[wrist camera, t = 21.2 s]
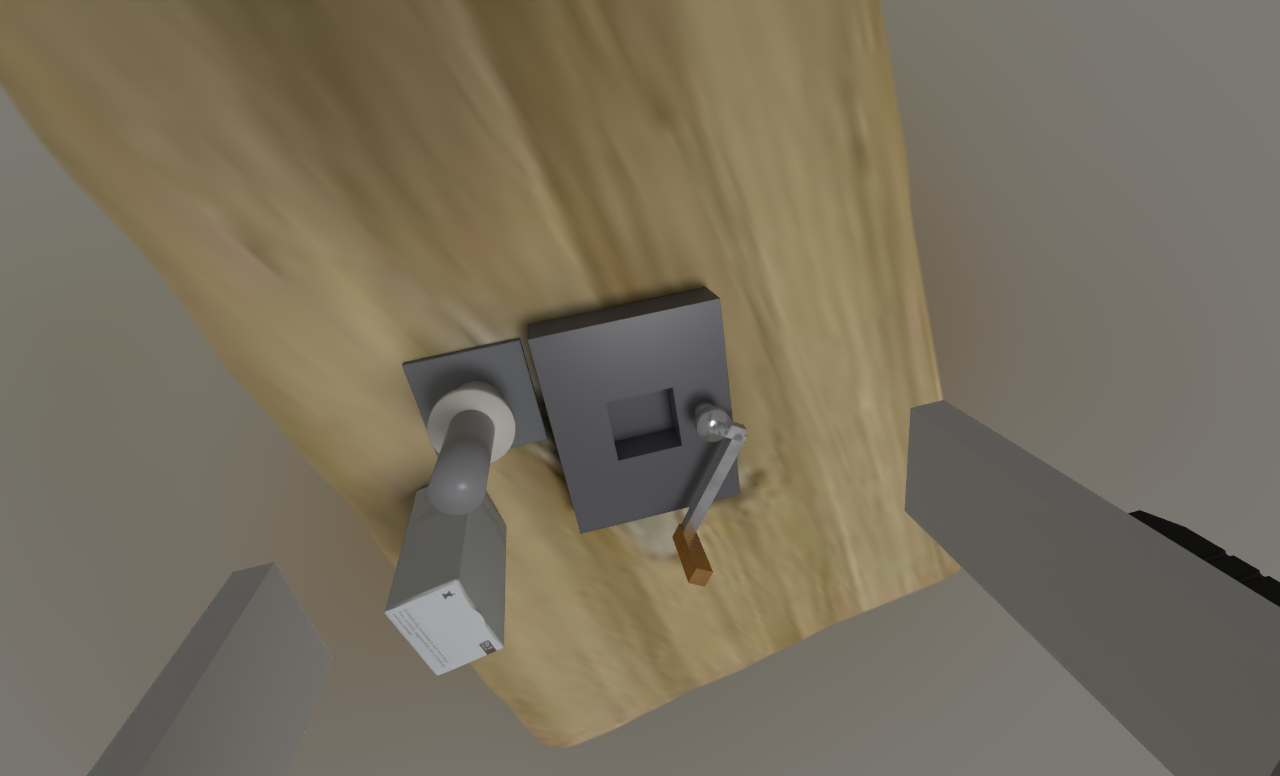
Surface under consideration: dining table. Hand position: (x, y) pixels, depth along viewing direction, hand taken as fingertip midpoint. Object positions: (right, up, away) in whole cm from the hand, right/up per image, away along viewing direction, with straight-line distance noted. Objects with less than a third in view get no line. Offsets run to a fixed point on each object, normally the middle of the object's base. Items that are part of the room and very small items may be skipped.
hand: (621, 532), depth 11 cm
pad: (-14, +2, +37) cm, 40 cm away
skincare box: (-17, -9, +42) cm, 46 cm away
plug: (-14, +2, +37) cm, 39 cm away
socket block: (0, +1, +40) cm, 40 cm away
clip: (+5, -5, +37) cm, 38 cm away
